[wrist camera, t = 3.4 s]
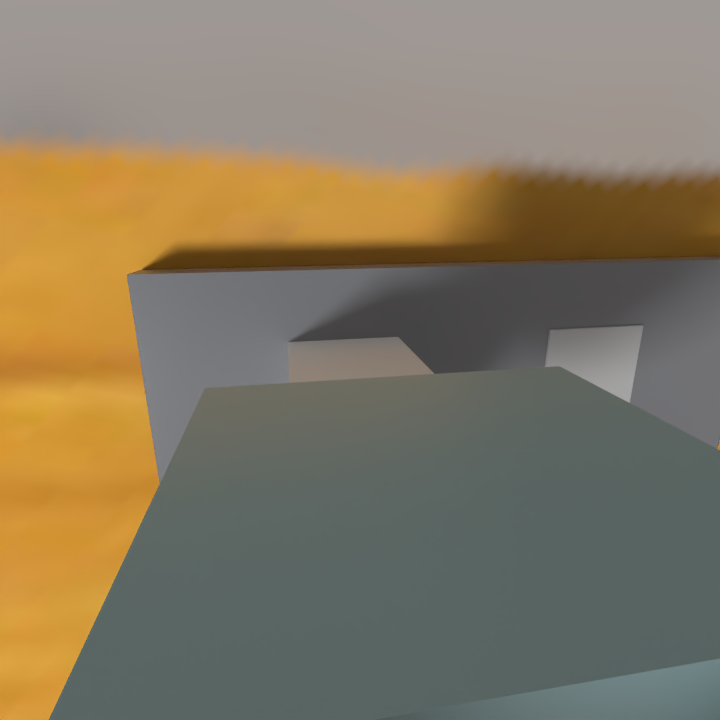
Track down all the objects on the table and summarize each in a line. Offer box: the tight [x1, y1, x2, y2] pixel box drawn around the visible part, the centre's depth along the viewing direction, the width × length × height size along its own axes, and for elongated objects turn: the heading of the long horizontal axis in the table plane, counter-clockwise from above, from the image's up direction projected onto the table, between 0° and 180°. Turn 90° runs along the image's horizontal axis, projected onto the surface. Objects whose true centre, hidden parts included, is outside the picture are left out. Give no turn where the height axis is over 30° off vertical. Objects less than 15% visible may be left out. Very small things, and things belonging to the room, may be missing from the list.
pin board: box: [127, 256, 720, 482], centre depth 17 cm, size 24×16×6 cm, turn 91°
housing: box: [49, 366, 720, 720], centre depth 7 cm, size 7×7×6 cm
